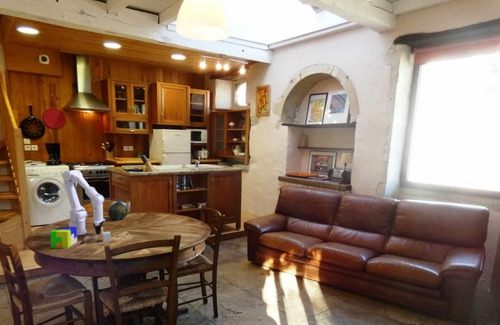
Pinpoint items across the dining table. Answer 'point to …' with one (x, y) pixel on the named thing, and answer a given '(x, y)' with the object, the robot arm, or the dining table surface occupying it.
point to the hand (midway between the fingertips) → (98, 233)
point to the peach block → (100, 232)
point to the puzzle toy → (63, 237)
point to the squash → (118, 211)
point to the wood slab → (91, 239)
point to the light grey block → (106, 236)
